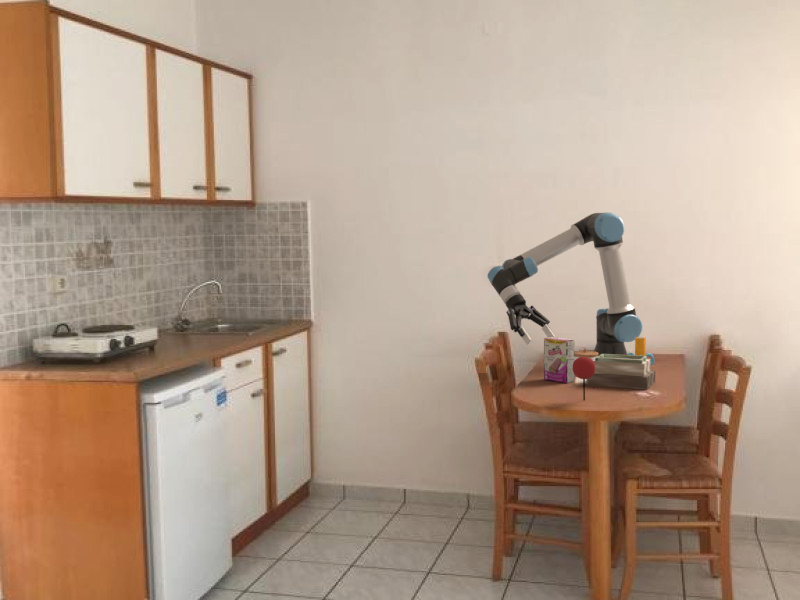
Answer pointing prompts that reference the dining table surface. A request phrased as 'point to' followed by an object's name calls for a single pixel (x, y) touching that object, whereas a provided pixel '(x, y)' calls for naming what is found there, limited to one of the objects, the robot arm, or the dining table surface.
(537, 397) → the dining table surface
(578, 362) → the lollipop
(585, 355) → the lidded jar
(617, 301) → the robot arm
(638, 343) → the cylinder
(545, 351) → the candy bar box
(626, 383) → the tower base
